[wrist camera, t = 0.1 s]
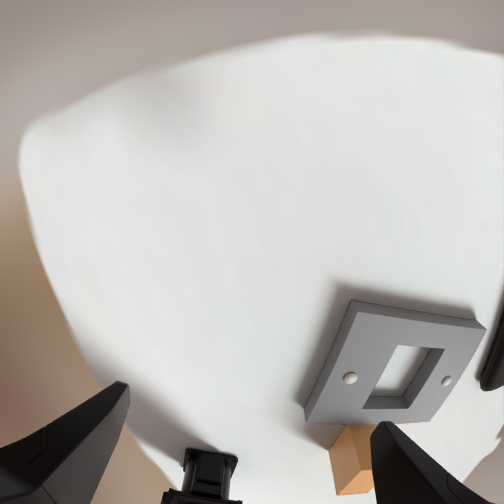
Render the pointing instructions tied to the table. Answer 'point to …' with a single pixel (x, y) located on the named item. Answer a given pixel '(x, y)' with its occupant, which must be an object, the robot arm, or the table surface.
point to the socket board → (377, 357)
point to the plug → (352, 460)
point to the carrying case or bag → (494, 363)
